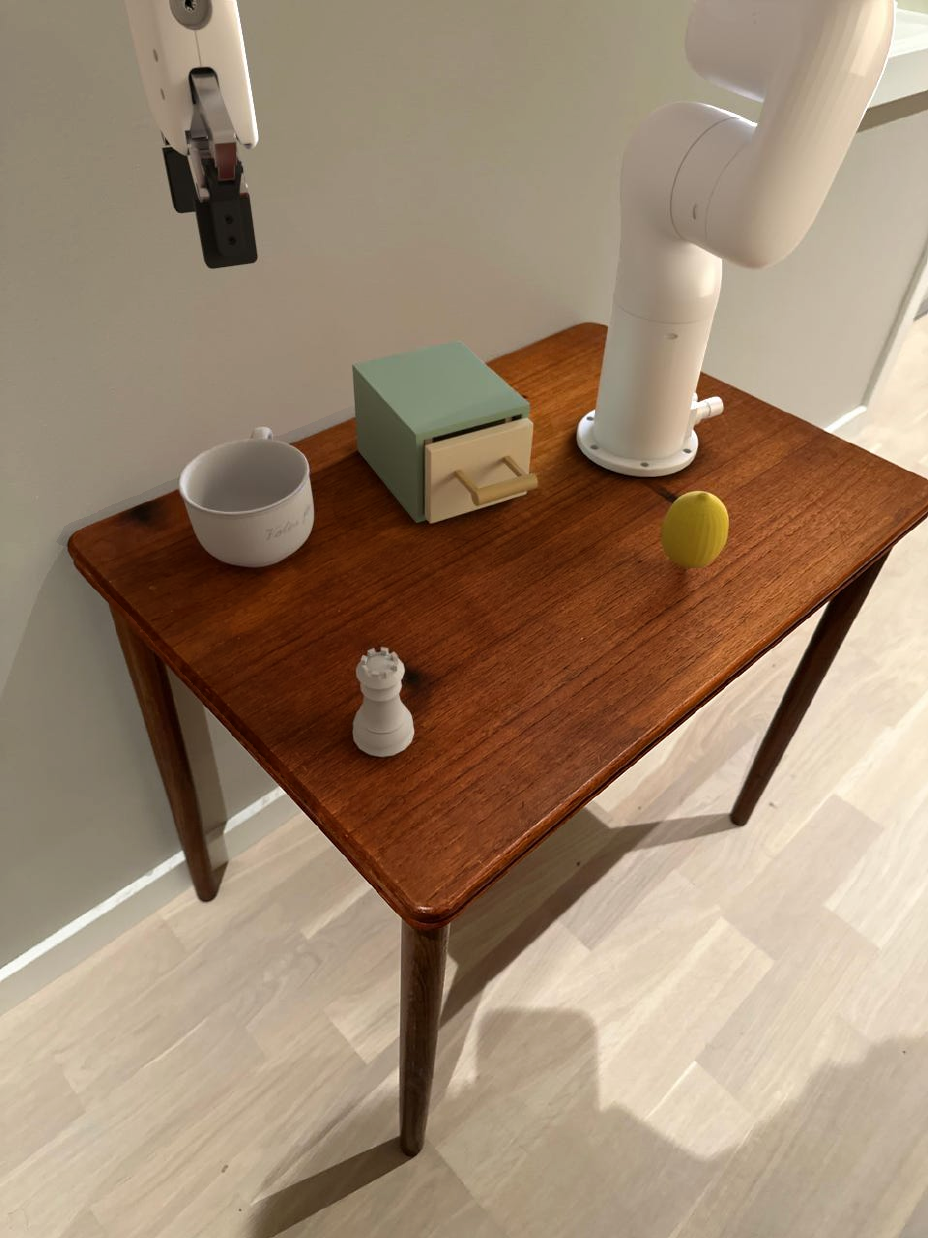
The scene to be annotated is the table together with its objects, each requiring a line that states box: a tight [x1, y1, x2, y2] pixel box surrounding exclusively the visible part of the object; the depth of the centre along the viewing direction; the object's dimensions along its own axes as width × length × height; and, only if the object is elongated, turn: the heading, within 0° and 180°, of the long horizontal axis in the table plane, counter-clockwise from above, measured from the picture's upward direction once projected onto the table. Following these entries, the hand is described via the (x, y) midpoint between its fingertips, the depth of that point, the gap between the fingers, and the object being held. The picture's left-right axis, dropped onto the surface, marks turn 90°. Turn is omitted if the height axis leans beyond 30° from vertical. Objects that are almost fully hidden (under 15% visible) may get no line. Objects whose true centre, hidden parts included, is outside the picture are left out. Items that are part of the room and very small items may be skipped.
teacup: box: [177, 426, 315, 568], centre depth 76 cm, size 14×11×8 cm
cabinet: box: [351, 340, 531, 524], centre depth 84 cm, size 14×12×10 cm
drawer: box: [423, 417, 539, 525], centre depth 81 cm, size 17×10×8 cm, turn 29°
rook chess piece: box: [352, 646, 415, 758], centre depth 60 cm, size 4×4×8 cm
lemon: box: [660, 490, 730, 569], centre depth 75 cm, size 6×6×8 cm
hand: (214, 235), depth 57 cm, fingers open, 9 cm apart
